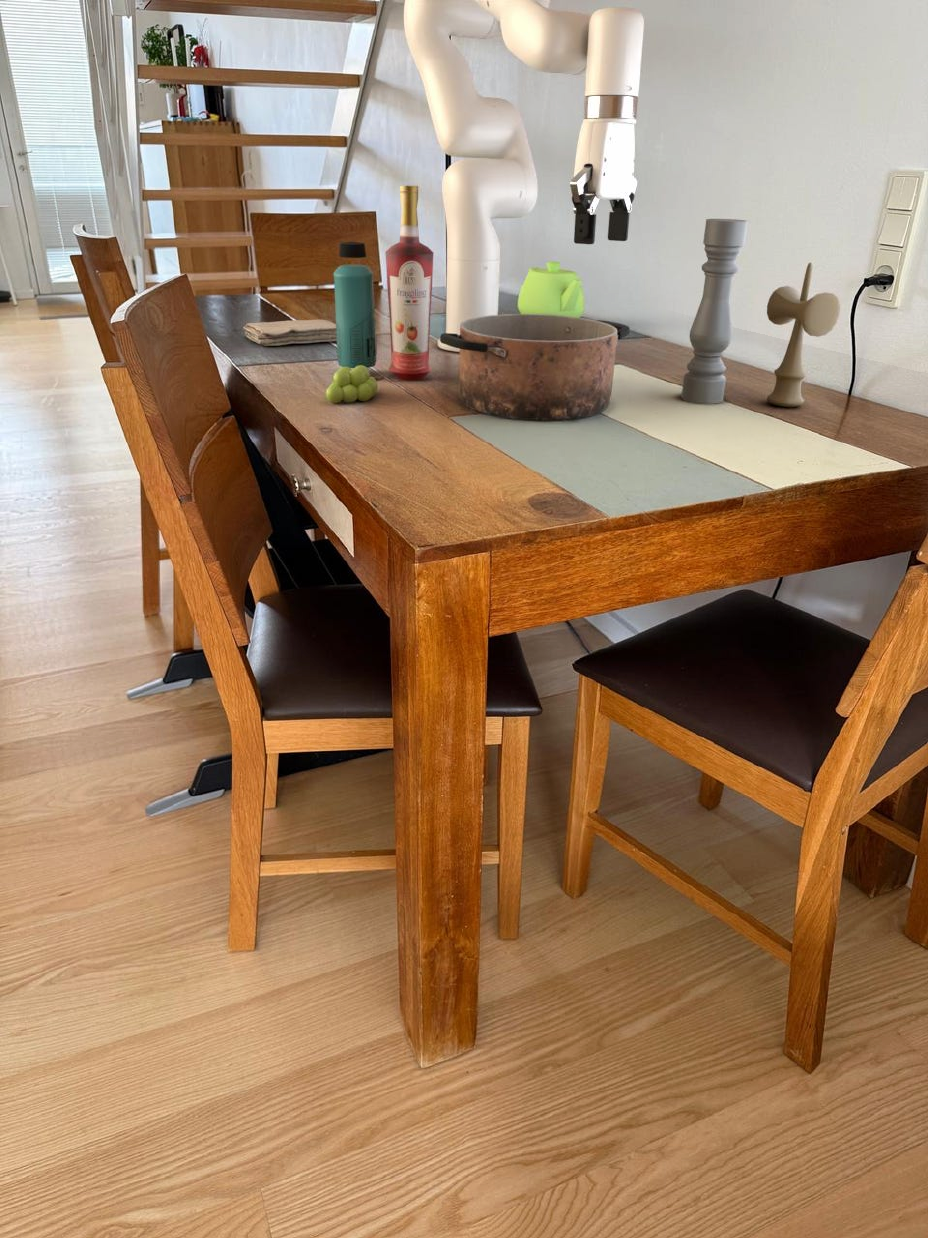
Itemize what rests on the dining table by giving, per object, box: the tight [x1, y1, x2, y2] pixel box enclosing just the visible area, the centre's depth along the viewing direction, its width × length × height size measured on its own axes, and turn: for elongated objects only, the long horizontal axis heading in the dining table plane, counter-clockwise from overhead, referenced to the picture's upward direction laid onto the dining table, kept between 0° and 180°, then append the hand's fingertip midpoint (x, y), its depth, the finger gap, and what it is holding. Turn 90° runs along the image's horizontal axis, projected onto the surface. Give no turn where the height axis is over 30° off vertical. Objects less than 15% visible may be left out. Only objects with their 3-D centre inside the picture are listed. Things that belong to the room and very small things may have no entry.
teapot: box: [517, 261, 586, 318], centre depth 194 cm, size 20×13×13 cm
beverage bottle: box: [332, 241, 378, 369], centre depth 145 cm, size 6×7×20 cm
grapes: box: [325, 365, 385, 404], centre depth 135 cm, size 12×7×4 cm, turn 143°
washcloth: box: [243, 319, 337, 347], centre depth 175 cm, size 12×18×3 cm, turn 119°
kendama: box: [766, 262, 841, 408], centre depth 133 cm, size 6×10×20 cm, turn 20°
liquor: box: [385, 185, 434, 381], centre depth 142 cm, size 7×7×28 cm
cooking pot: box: [439, 313, 631, 422], centre depth 133 cm, size 30×22×11 cm
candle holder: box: [680, 218, 749, 405], centre depth 134 cm, size 6×6×25 cm
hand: (601, 241), depth 138 cm, fingers open, 9 cm apart
